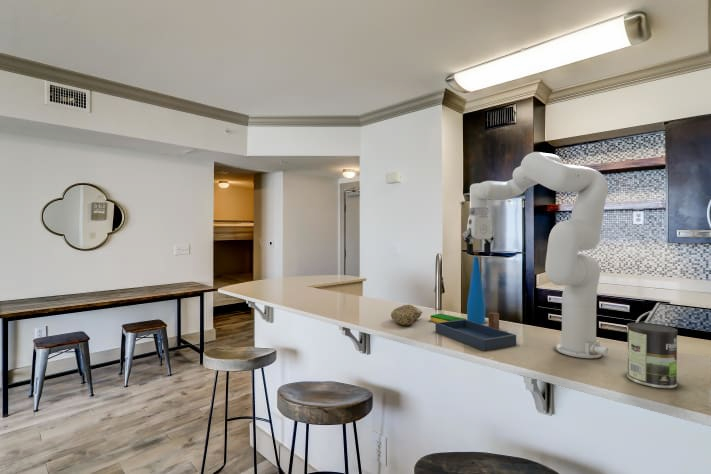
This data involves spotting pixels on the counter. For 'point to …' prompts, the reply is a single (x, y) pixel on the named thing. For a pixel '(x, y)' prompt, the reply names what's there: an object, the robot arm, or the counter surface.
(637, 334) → the coffee can
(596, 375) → the counter surface
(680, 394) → the counter surface
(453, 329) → the baking dish
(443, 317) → the dish sponge
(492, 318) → the two-tone wood block
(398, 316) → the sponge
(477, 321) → the bottle
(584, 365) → the counter surface
